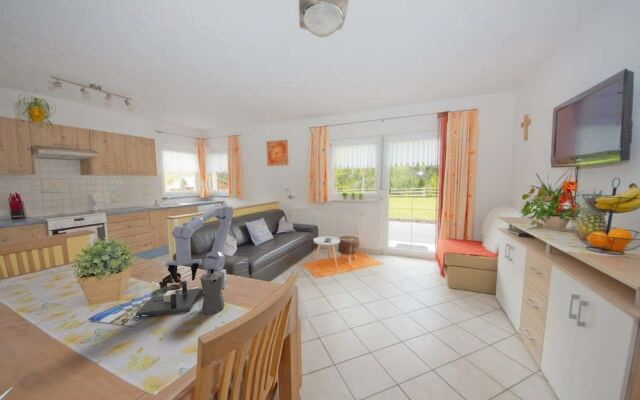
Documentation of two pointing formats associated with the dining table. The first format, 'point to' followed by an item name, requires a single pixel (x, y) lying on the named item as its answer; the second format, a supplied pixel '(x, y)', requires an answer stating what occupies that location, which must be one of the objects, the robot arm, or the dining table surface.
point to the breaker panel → (160, 307)
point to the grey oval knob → (184, 286)
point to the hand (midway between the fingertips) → (184, 280)
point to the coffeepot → (212, 292)
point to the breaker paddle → (168, 296)
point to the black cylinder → (173, 300)
